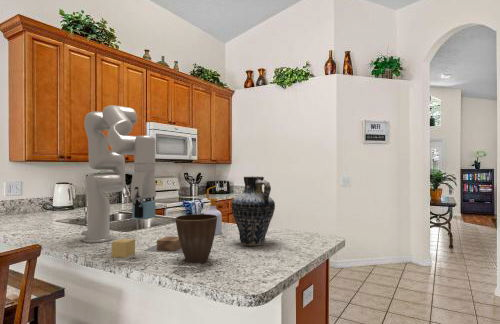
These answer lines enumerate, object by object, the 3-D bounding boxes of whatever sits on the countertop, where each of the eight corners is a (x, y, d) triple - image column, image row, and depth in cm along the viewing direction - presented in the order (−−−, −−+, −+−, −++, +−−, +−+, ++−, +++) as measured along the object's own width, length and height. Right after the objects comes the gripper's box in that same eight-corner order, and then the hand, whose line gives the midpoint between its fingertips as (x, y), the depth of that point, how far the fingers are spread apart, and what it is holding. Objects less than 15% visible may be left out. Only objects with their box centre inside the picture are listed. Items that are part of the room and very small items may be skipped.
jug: (222, 243, 143) (222, 176, 144) (252, 237, 157) (252, 175, 157) (255, 252, 128) (255, 176, 129) (286, 244, 142) (285, 176, 143)
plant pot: (179, 270, 106) (179, 221, 106) (171, 258, 120) (171, 215, 120) (222, 264, 112) (222, 218, 112) (210, 254, 126) (210, 213, 126)
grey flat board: (143, 252, 129) (143, 250, 129) (158, 245, 140) (158, 243, 140) (184, 255, 124) (184, 253, 124) (196, 247, 136) (196, 246, 136)
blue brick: (132, 218, 119) (132, 202, 119) (141, 216, 125) (141, 200, 125) (146, 219, 118) (146, 203, 118) (155, 216, 124) (155, 201, 124)
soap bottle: (220, 235, 162) (220, 186, 162) (202, 235, 162) (202, 186, 162) (222, 231, 171) (222, 185, 171) (205, 231, 171) (205, 185, 171)
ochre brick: (111, 258, 121) (111, 242, 121) (121, 254, 127) (121, 238, 127) (125, 259, 119) (125, 242, 119) (135, 255, 125) (135, 239, 125)
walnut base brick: (156, 250, 130) (156, 240, 130) (166, 245, 137) (166, 236, 137) (175, 251, 128) (175, 241, 128) (183, 246, 135) (183, 237, 135)
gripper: (148, 168, 131) (147, 212, 131) (121, 168, 114) (120, 219, 114) (165, 168, 129) (164, 213, 129) (140, 169, 112) (139, 220, 112)
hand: (143, 215), depth 122 cm, fingers closed on blue brick, 6 cm apart
